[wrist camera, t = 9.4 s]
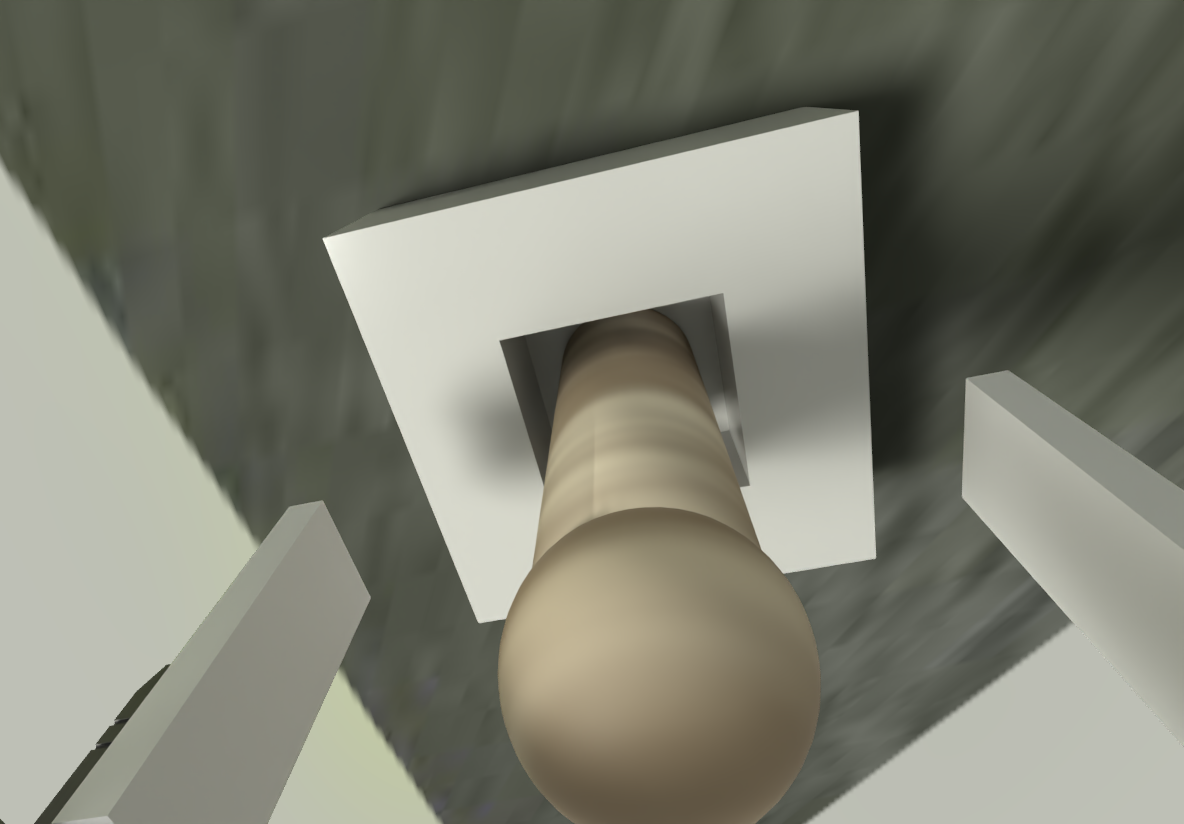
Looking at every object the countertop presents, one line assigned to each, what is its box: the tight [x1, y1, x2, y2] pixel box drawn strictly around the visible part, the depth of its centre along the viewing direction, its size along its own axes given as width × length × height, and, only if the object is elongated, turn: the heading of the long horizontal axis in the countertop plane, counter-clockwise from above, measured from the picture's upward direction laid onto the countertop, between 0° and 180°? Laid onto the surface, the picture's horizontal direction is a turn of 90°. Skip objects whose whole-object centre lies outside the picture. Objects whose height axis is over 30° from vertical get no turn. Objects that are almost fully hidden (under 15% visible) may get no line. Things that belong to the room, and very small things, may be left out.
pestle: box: [498, 309, 821, 824], centre depth 13 cm, size 5×5×14 cm
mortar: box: [323, 107, 876, 623], centre depth 18 cm, size 12×12×4 cm
